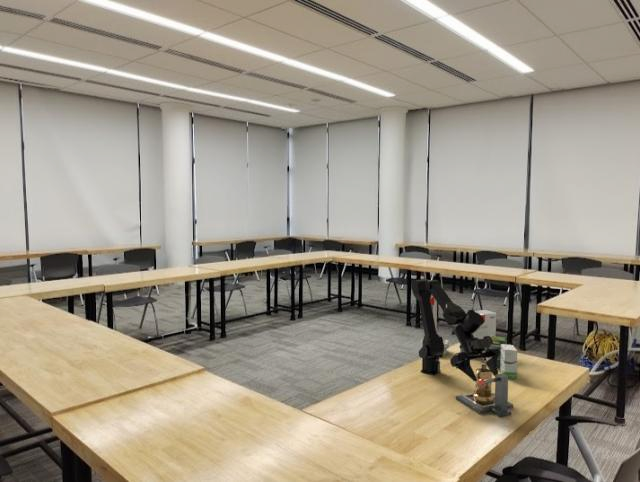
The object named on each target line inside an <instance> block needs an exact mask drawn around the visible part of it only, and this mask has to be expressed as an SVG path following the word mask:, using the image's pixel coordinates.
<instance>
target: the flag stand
mask: <svg viewBox="0 0 640 482" xmlns="http://www.w3.org/2000/svg"><path fill="white" fill-rule="evenodd" d="M430 301H431V306H433V317H434V322H435V327H436V332H437V330H438V329H437V326H438V325H437V324H438V321H437V320H438V315H437V314H438V303H437V301H436V300H435V298H434V297H433V296H431V298H430ZM437 333H438V332H437ZM422 341H423V338H422V339H421V340H420V346H421V348H422V347H423V345H422ZM443 343H444V353H443V356H444V355H447V350H448V349H449V347H450V341H449V340H448V339H445V340H444V338H443Z"/></svg>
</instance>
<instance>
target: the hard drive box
mask: <svg viewBox="0 0 640 482" xmlns="http://www.w3.org/2000/svg"><path fill="white" fill-rule="evenodd" d="M474 311H475V312H477V313H479V314H480V315H481V316H482V317H483V319H484V323H483V324H482V325H481V326H480V328H479V329H478V330H477V331H476V332H475V333H473V335H474V337H475V338H476V337H477V338H478V339H483V337H485V336H487V335H490V336H496V334H497V333H496V331H497V312H495V311H492V310H491V311H490V310H487V309H479V310H474ZM467 312H468V311H467ZM467 312H466V311H465V313H467ZM460 345H461V344H460V343H459V346H460ZM460 352H464V350H463V349H460V348H459V353H460ZM485 352H486V348H485V350H484V351H482V353H485Z"/></svg>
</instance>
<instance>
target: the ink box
mask: <svg viewBox="0 0 640 482" xmlns="http://www.w3.org/2000/svg"><path fill="white" fill-rule="evenodd" d="M501 353H502V354H501V364H500V367H499V369H500V374H501V373H502V374H505V375H507V376H508V380H509V379H511V380H512V379H513V380H517V378H518V376H517V374H518V350H517V349H516V347H515V346H514V345H513V344H507V343H506V344H501Z"/></svg>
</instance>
